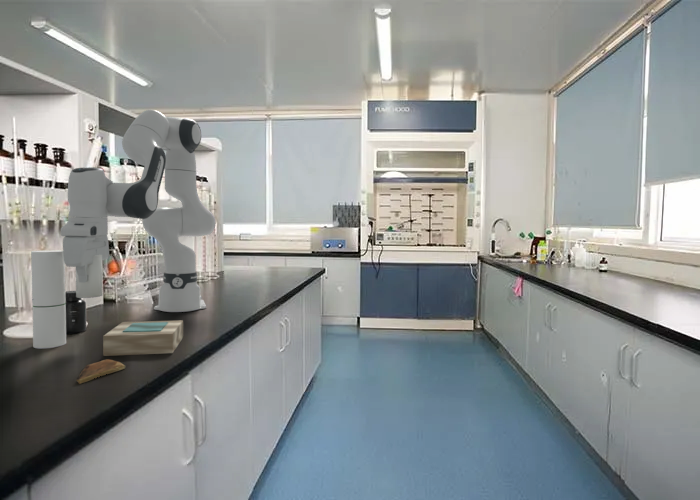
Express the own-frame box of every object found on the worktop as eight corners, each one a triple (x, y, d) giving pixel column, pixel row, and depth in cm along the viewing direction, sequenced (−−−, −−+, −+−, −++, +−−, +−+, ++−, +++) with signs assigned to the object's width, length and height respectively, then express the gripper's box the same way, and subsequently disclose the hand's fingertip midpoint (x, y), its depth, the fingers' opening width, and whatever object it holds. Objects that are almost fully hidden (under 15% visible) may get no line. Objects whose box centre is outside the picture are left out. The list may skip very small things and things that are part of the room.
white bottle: (81, 294, 113) (81, 248, 112) (105, 293, 114) (105, 248, 114) (72, 298, 107) (71, 250, 106) (97, 297, 109) (96, 250, 108)
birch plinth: (122, 339, 116) (122, 320, 116) (183, 337, 120) (183, 319, 119) (103, 356, 102) (103, 334, 101) (172, 353, 105) (172, 332, 105)
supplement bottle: (56, 335, 119) (55, 294, 119) (61, 329, 125) (61, 290, 125) (84, 333, 122) (83, 293, 121) (88, 327, 128) (87, 289, 128)
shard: (76, 387, 83) (76, 378, 83) (54, 380, 87) (54, 372, 87) (126, 370, 93) (126, 363, 93) (104, 365, 96) (104, 357, 96)
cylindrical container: (63, 339, 115) (61, 250, 114) (68, 345, 110) (67, 251, 109) (31, 344, 110) (29, 250, 109) (35, 350, 105) (33, 252, 104)
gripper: (90, 227, 119) (91, 274, 120) (56, 229, 99) (58, 286, 100) (114, 227, 120) (115, 274, 121) (86, 229, 100) (87, 285, 101)
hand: (89, 279), depth 111 cm, fingers closed on white bottle, 6 cm apart
